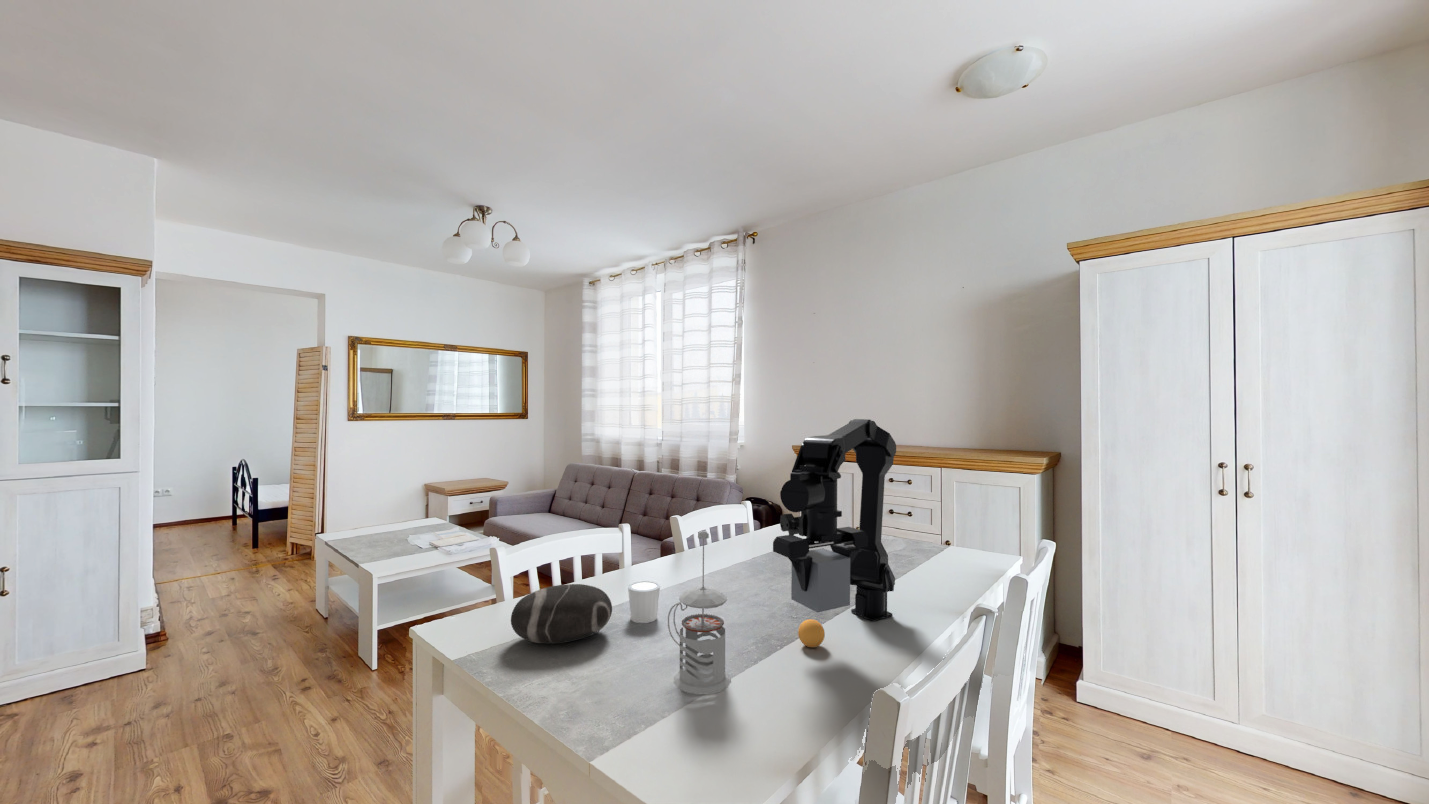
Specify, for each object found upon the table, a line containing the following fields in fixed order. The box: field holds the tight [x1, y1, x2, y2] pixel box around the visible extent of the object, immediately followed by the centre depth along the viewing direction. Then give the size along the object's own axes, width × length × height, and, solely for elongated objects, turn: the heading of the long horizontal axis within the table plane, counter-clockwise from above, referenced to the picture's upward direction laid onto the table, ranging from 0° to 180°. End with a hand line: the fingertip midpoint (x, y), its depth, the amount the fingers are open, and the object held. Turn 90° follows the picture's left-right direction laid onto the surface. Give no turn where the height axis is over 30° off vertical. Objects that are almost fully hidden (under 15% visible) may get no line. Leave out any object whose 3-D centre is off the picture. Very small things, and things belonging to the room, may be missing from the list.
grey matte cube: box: [790, 547, 851, 613], centre depth 106 cm, size 8×8×9 cm
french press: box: [667, 530, 732, 695], centre depth 95 cm, size 10×12×25 cm
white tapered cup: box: [627, 580, 661, 624], centre depth 121 cm, size 7×7×7 cm
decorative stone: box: [510, 583, 613, 644], centre depth 111 cm, size 19×14×10 cm
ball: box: [797, 619, 826, 648], centre depth 107 cm, size 5×5×5 cm
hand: (821, 587), depth 105 cm, fingers closed on grey matte cube, 8 cm apart
